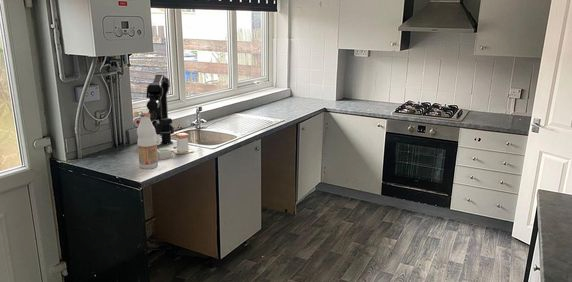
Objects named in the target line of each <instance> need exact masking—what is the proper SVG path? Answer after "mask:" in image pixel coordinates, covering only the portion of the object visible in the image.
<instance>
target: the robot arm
mask: <svg viewBox="0 0 572 282" xmlns="http://www.w3.org/2000/svg"><path fill="white" fill-rule="evenodd" d="M170 87H171V82H170V79H169V78H167V77H166V76H165V75H164V74H155V75H154V80H153V82H151V83H148V85H147V86H146V95H145V96H146V97H145V98H146V99H148V101H147V103H146V108H147V110H148V113H149V114H150V120H151V122H152V124H153V126H154V127H155V131H156V134H157V135H160V136H161V137H160V140H161V144H162V145H169V144H170V145H171V144H174V142H173V141H172V136H171V135H174V133H175V130H174V126H173V119H172V118H170V117H169V113H168V110H169V109H168V108H169V107H168V95H167V94H168V92H169V91H170ZM161 144H160V145H161Z"/></svg>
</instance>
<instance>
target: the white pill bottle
mask: <svg viewBox="0 0 572 282" xmlns="http://www.w3.org/2000/svg"><path fill="white" fill-rule="evenodd" d="M175 138H176V146H177V151H179V152H186V151H189V149H190V148H189V147H190V146H189V134H188V133H186V132H179V133H176V134H175Z"/></svg>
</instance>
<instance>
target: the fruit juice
mask: <svg viewBox="0 0 572 282" xmlns="http://www.w3.org/2000/svg"><path fill="white" fill-rule="evenodd" d="M139 117H140V121H139V124H138V127H137V128H136V135H137V137H138V138H137V151H138V152H137V155H138V165H139V168H140V169H146V170H149V169H151V170H152V169H154V168H157V167H158V166H159V160H158V159H159V158H158V156H157V149H158V145H157V141H156V137H155V132H156V131H155V127H154V126H153V124H152V122H151V120H150V114H149V112H143V113H140V114H139Z"/></svg>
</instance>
